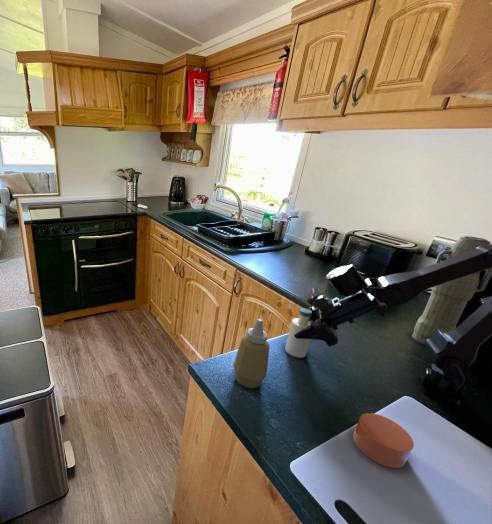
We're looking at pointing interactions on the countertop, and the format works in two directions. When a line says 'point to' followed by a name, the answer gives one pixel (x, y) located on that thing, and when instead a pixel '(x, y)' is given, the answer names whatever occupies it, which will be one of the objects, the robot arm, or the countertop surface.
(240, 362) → the squeeze bottle
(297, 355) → the cream bottle
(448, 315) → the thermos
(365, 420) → the orange short round piece
